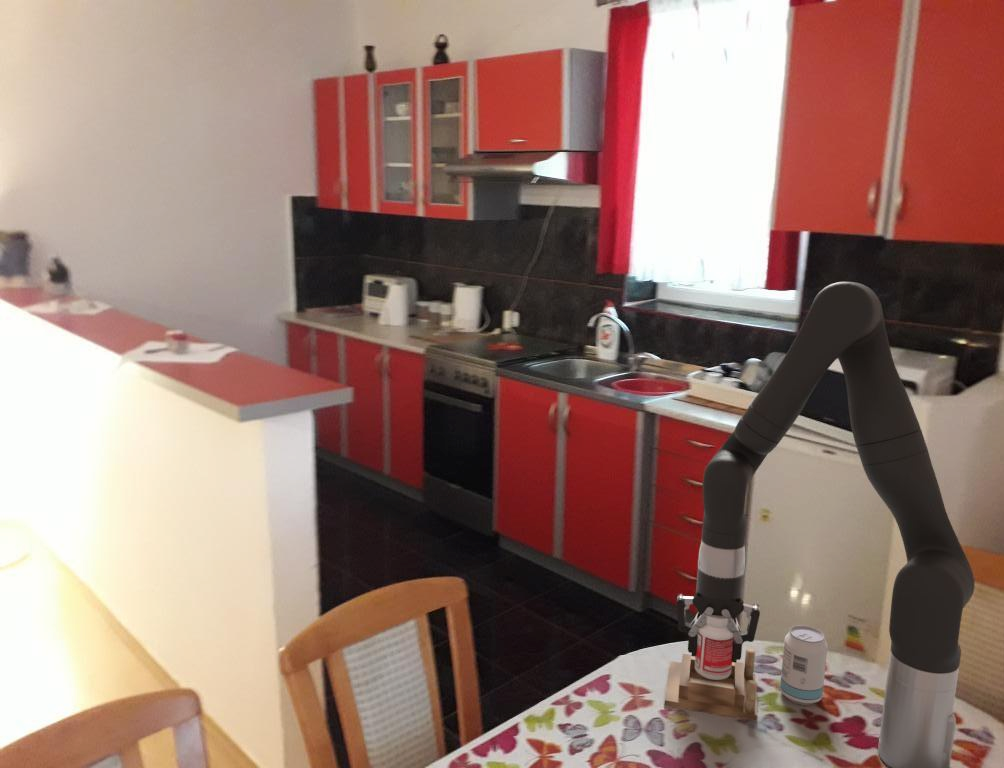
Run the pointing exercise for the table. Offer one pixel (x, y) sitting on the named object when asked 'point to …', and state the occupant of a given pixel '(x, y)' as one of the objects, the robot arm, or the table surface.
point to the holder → (713, 689)
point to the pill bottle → (714, 649)
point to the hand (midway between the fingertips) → (713, 656)
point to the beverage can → (803, 665)
